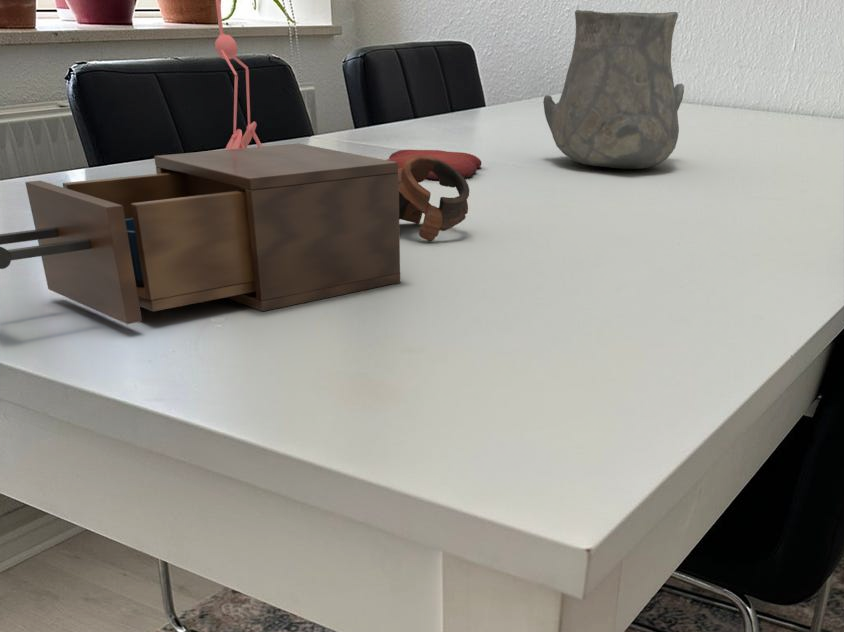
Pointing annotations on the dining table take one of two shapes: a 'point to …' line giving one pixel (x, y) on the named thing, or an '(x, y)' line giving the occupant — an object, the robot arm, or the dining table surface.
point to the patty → (457, 160)
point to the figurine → (235, 87)
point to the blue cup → (134, 251)
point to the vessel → (618, 92)
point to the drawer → (139, 241)
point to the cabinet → (308, 218)
